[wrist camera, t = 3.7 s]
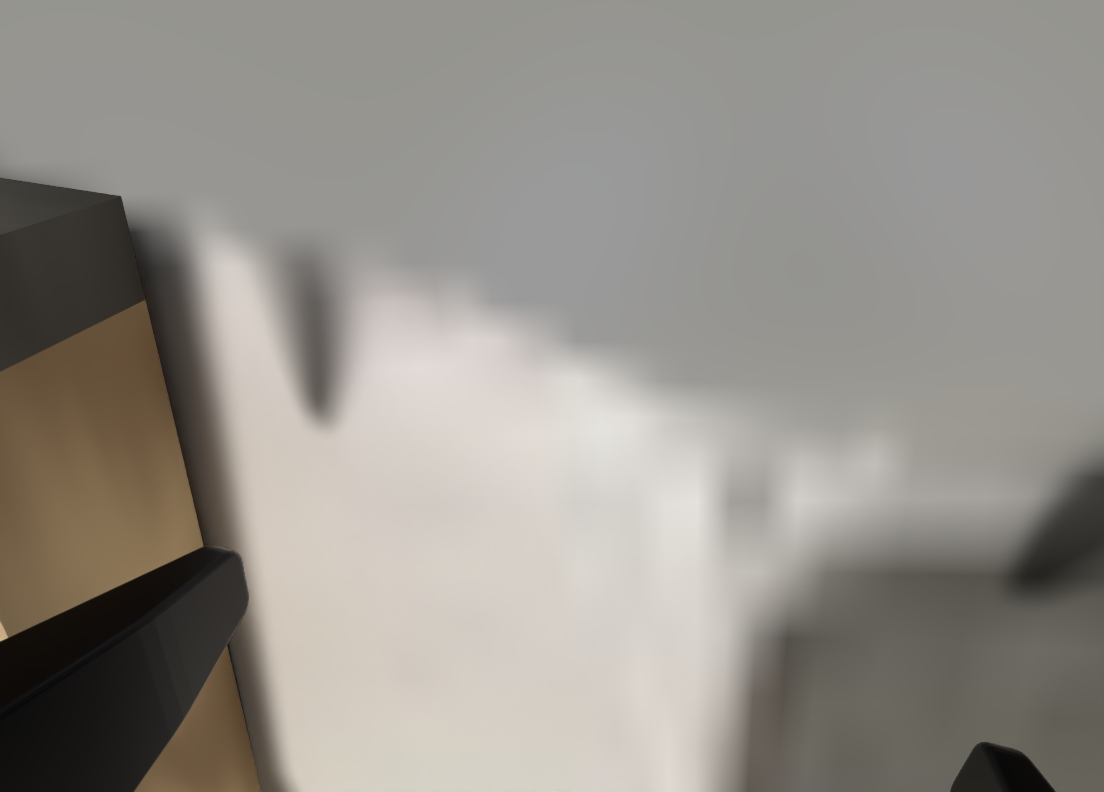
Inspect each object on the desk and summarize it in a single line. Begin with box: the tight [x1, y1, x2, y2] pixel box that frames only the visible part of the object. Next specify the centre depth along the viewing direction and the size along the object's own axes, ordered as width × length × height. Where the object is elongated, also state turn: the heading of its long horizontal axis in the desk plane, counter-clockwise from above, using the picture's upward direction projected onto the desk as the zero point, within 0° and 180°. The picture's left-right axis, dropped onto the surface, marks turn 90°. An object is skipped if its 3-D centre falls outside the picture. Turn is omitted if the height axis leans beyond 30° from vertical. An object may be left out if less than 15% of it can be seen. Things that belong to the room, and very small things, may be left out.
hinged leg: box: [0, 178, 261, 792], centre depth 12 cm, size 18×3×4 cm, turn 176°
